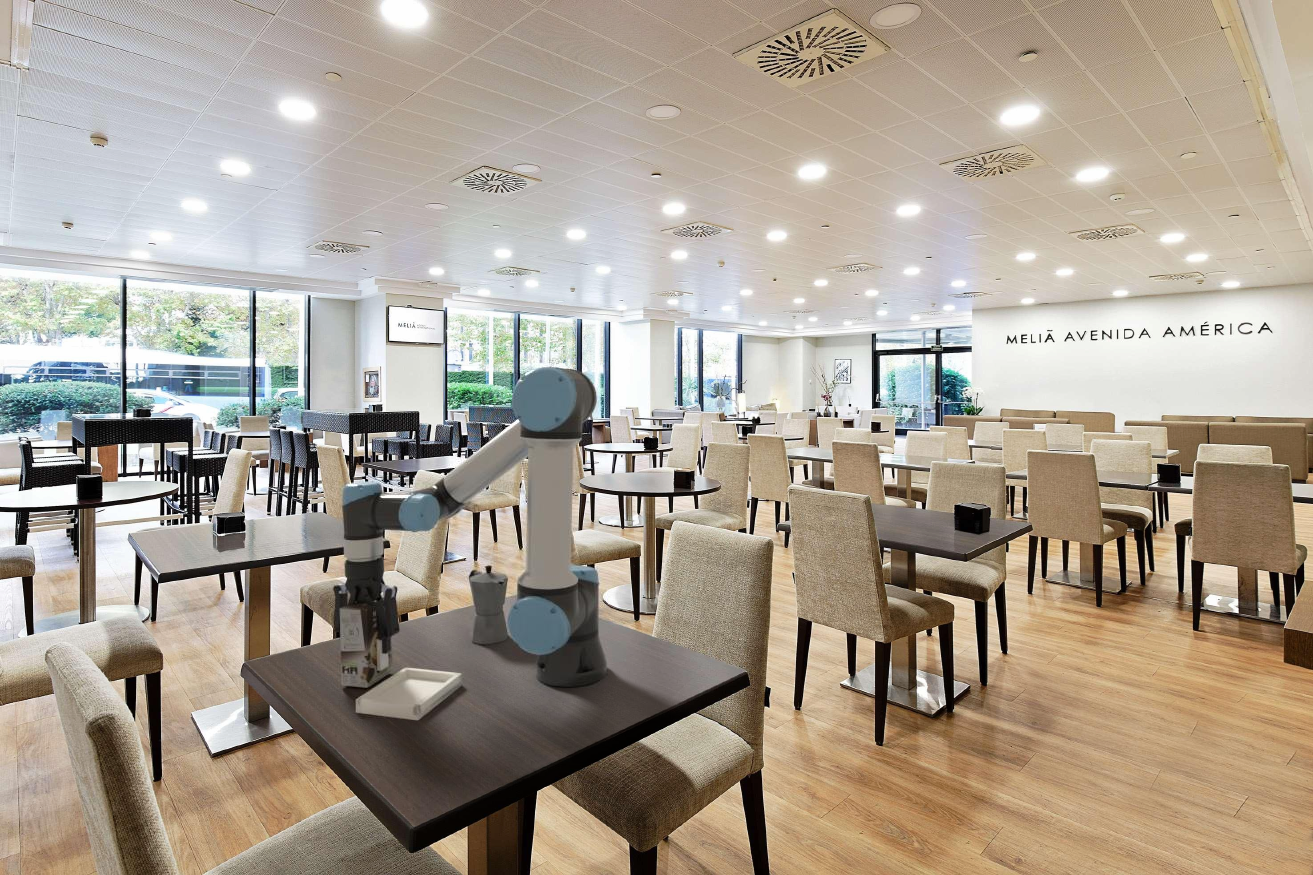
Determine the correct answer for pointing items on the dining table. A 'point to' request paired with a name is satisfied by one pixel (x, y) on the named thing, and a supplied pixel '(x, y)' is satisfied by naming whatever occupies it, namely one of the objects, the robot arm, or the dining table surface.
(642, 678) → the dining table surface
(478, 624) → the coffeepot
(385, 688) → the tray
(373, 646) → the coffee box
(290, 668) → the dining table surface
